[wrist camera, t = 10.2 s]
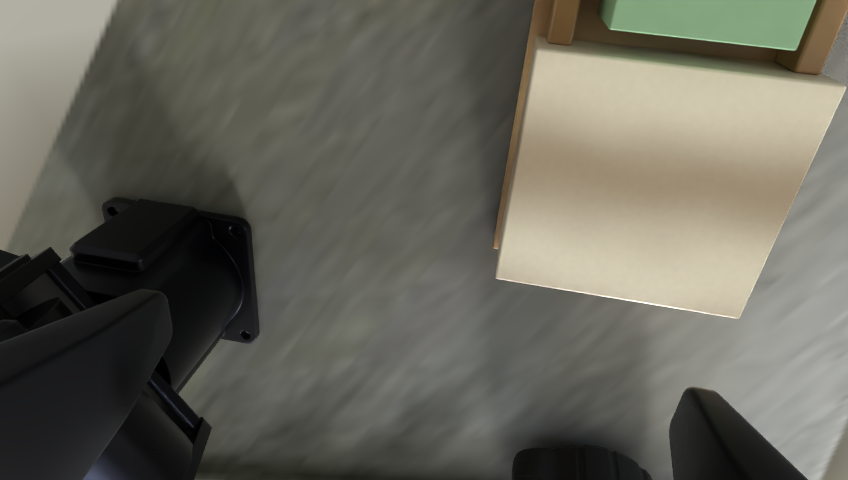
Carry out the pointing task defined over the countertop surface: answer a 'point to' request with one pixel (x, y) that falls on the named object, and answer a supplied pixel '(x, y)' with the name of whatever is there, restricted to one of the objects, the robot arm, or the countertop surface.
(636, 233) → the frame
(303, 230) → the countertop surface
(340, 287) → the countertop surface
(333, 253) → the countertop surface
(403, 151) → the countertop surface
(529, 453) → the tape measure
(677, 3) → the green rectangular block
